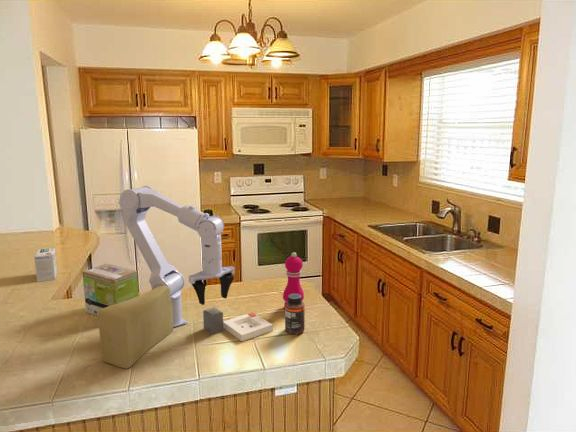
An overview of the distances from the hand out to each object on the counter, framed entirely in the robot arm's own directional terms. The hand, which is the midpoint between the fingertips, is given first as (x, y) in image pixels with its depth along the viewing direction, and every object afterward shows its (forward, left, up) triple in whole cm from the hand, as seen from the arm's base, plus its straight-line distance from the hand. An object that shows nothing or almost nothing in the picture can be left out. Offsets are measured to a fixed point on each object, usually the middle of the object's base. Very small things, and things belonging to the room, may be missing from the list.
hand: (213, 300), depth 128 cm
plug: (0, 0, -10) cm, 10 cm away
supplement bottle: (+19, -16, -10) cm, 27 cm away
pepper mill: (+29, -3, -10) cm, 31 cm away
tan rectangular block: (-21, +2, -10) cm, 23 cm away
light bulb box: (-32, +83, -10) cm, 89 cm away
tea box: (-21, +31, -10) cm, 39 cm away
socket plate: (+8, -6, -9) cm, 14 cm away
